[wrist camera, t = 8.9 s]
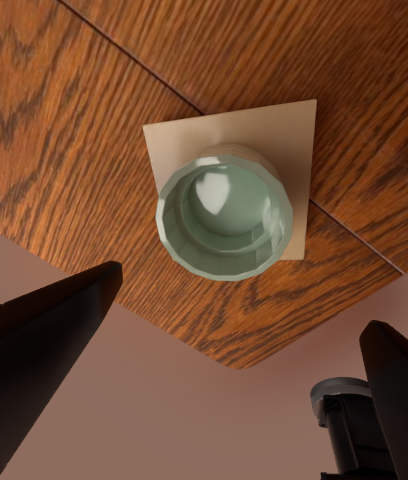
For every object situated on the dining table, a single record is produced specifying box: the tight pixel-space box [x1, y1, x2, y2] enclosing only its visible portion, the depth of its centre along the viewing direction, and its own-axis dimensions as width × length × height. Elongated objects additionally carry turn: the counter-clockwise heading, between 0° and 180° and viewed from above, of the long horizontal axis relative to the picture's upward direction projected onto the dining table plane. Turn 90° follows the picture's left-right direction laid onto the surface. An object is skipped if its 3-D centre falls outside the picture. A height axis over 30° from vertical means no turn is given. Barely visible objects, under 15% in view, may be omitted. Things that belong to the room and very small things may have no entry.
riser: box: [143, 99, 317, 261], centre depth 17 cm, size 10×10×3 cm
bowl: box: [155, 144, 293, 281], centre depth 13 cm, size 7×7×4 cm
